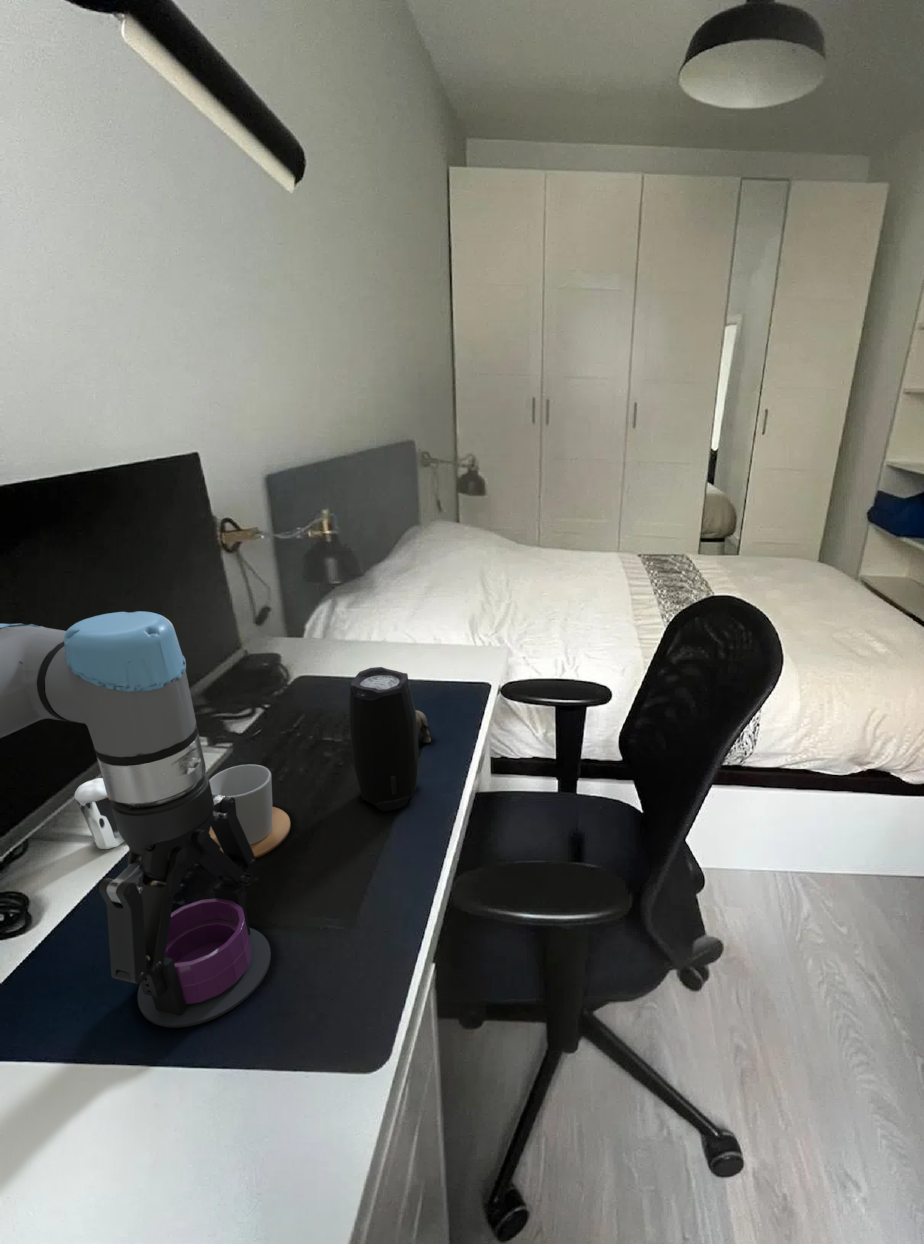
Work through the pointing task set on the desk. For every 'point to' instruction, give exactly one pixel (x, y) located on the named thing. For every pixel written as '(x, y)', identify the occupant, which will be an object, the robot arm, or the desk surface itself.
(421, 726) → the rhino figurine
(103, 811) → the milkshake
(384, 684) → the portable speaker
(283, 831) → the wooden coaster
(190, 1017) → the slate coaster
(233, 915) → the plum bowl
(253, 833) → the cup
